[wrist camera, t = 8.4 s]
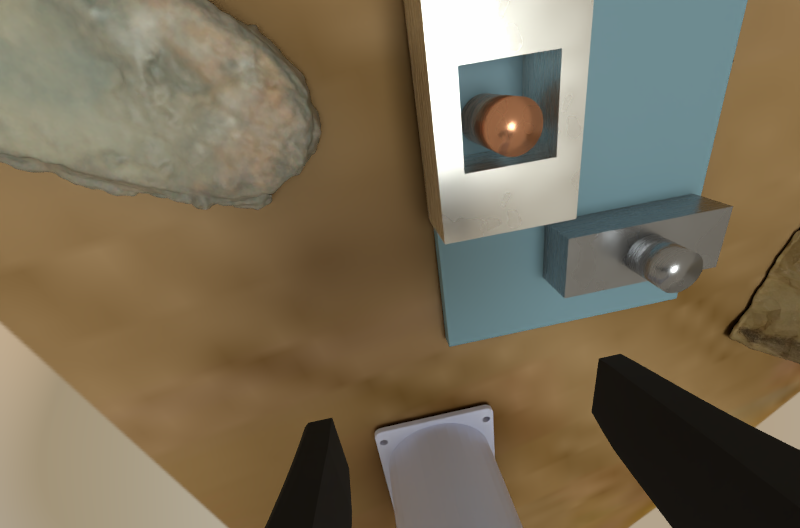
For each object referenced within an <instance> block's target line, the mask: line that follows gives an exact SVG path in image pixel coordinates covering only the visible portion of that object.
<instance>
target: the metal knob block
mask: <svg viewBox="0 0 800 528" xmlns="http://www.w3.org/2000/svg"><path fill="white" fill-rule="evenodd" d="M732 208H733V206H730V205H727V204H724V203H721V202H718V201H715V200H711V199H708V198H705V197H702V196H699V195H696V194H688V195H683V196H678V197H673V198H668V199H662V200H657V201H652V202H647V203H642V204H637V205H632V206H627V207H621V208H616V209H611V210H606V211H601V212H596V213H591V214H586V215H581V216H577V217H576V219H573V220H568V221H563V222H558V223H552V224H547V225H545V228H544V254H543V278H544V279H545V280H546V281H547V282H548V283H549V284H550V285H551V286H552V287H553V288H554V289H555V290H556V291H557V292H558V293H559V294H560V295H561V296H562V297H564V298H569V297H574V296H579V295H583V294H588V293H593V292H598V291H602V290H607V289H612V288H617V287H621V286H626V285H631V284H636V283H641V282H645V281H649V282H650V283H652V284H653V285H655V286H656V287H658V288H660V289H661V290H663V291H664V292H667V293H677V292H680V291H683V290H685V289H686V288H688V287H689V286H691V285H692V284H693V283H694V282H695V281H696V280H697V278H698V277H699V275H700V274H701V272H702V270H703V269H707V268H712V267H716V264H717V261H718V257H719V254H720V250H721V247H722V243H723V240H724V236H725V233H726V229H727V226H728V222H729V219H730V215H731V212H732Z"/></svg>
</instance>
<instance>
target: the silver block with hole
mask: <svg viewBox="0 0 800 528" xmlns="http://www.w3.org/2000/svg"><path fill="white" fill-rule="evenodd" d="M593 5H594V0H404V8H405V17H406V25H407V34H408V42H409V51H410V60H411V68H412V77H413V85H414V94H415V103H416V111H417V120H418V128H419V137H420V146H421V154H422V163H423V171H424V180H425V189H426V197H427V206H428V214H429V220H430V222H431V224H432V225H433V227H434V228H435V230H436V231H437V233H438V235H439V236H440V238H441V239H442V241H443V242H444V244H450V243H455V242H461V241H466V240H471V239H476V238H481V237H486V236H491V235H496V234H501V233H507V232H512V231H517V230H522V229H527V228H532V227H537V226H542V225H547V224H552V223H558V222H563V221H568V220H573V219H576V217H577V205H578V192H579V180H580V167H581V155H582V142H583V130H584V118H585V105H586V93H587V80H588V68H589V55H590V43H591V30H592V18H593ZM518 55H523V75H522V96H524V97H528V98H530V99H532V100H534V101H535V102H536V103H537V104H538V106H539V107H540V109H541V111H542V114H543V129H542V133H541V136H540V138H539V140H538V141H537V143H536V144H535V145H534V147H533V148H532V149H530V150H529V151H528V152H526V153H525V154H523V155H520V156H517V157H506V156H503V155H501V154H499V153H496V152H494V151H487V152H481V153H476V154H470V155H465V156H463V142H462V127H461V112H460V96H459V81H458V65H463V64H469V63H475V62H482V61H488V60H494V59H500V58H506V57H512V56H518Z"/></svg>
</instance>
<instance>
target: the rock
mask: <svg viewBox="0 0 800 528" xmlns="http://www.w3.org/2000/svg"><path fill="white" fill-rule="evenodd" d="M729 338H730V339H732V340H735V341H737V342H739V343H742V344H744V345H745V346H747V347H748V348H750V349H753V350H757V351H761V352H764V353H767V354H770V355H773V356H776V357H780V358H783V359H786V360H791V361H793V362H796V363H799V364H800V230H799V231H797V232H796V233H795V234H794V236H793V238H792V239H791V241H790V242H789V244H788V245H787V246H786V248H785V249H784V250H783V252H782V253H781V255H780V256H779V257H778V258H777V260H776V263H775V264H774V266H773V267H772V268H771V269H770V272H769V274H768V276H767V278H766V280H765V281H764V283H763V284H762V286H761V287H760V288H759V289H758V290H757V292H756V294H755V296H754V297H753V300H752V304H751V306H750V307H749V309H748V310H747V311H746V312H745V313H744V315H743V316H742V317H741V318H740V320H739V321H738V323H737V324H736V325H735V326H734V328H733V330H732V332H731V334H730V335H729Z"/></svg>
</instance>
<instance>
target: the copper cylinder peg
mask: <svg viewBox="0 0 800 528" xmlns="http://www.w3.org/2000/svg"><path fill="white" fill-rule="evenodd" d="M461 127H462V132H463V134H464V135H465V137H466V138H467V139H469V140H470V141H472V142H474V143H476V144H479V145H481V146H483V147H485V148H487V149H490V150H492V151H494V152H496V153H499V154H501V155H503V156H506V157H517V156H520V155H523V154H525V153H526V152H528V151H529V150H530V149H532V148H533V147H534V145H535V144H536V143H537V141H538V140H539V138H540V136H541V133H542V129H543V114H542V111H541V109H540V107H539V106H538V104H537V103H536V102H535V101H534V100H532V99H530V98H528V97H524V96H512V95H499V94H486V93H484V94H479V95H476V96H474V97H473V98H471V99H470V100H469V101H468V102H467V103H466V104H465V106H464V108H463V110H462V112H461Z"/></svg>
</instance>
